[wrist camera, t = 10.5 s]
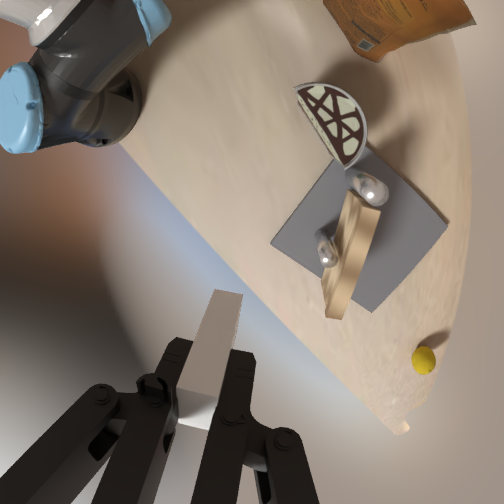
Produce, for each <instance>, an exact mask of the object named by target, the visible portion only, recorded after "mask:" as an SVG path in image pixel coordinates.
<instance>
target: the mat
mask: <svg viewBox="0 0 504 504" xmlns="http://www.w3.org/2000/svg"><path fill="white" fill-rule="evenodd" d="M350 167H357V168H359V169H361V170H363V171H364V172H366V173H368V174H370V175H371V176H373V177H375V178H376V179H378V180H380V181H381V182H383V183H384V184H385V185H386V186H387V187H388V190H389V197H388V199H387V201H386V202H385V203H384V204H383V205H381V206H374V207H375V208H378V209H379V210H380V211H381V213H380V216H379V219H378V222H377V226H376V229H375V232H374V235H373V238H372V241H371V244H370V247H369V250H368V253H367V256H366V259H365V261H364V264H363V267H362V270H361V272H360V275H359V278H358V280H357V283H356V286H355V288H354V291H353V293H352V296H351V299H352V300H354V301H355V302H357V303H358V304H360V305H361V306H362V307H364V308H365V309H367V310H368V311H370V312H371V313H372V312H373V311H374V310H375V309H376V308H377V307H378V306H379V305H380V304H381V303H382V302H383V301H384V300H385V299H386V298H387V297H388V296H389V295H390V294H391V293H392V292H393V291H394V290H395V288H396V287H397V286H398V285H399V284H400V283H401V282H402V281H403V280H404V279H405V278H406V277H407V275H408V274H409V273H410V272H411V271H412V270H413V269H414V268H415V266H416V265H417V264H418V263H419V262H420V261H421V259H422V258H423V257H424V256H425V255H426V254H427V252H428V251H429V250H430V249H431V248H432V246H433V245H434V244H435V243H436V241H437V240H438V239H439V238H440V236H441V235H442V234H443V233H444V231H445V230H446V229H447V227H448V226H447V225H446V224H445V222H444V221H443V220H442V219H441V218H440V217H439V216H438V215H437V213H436V212H435V211H434V210H433V209H432V208H431V207H430V206H429V205H428V204H427V203H426V202H425V201H424V200H423V199H422V198H421V197H420V196H419V195H418V194H417V193H416V192H415V191H414V190H413V189H412V188H411V187H410V186H409V185H408V184H407V183H406V182H405V181H404V180H403V179H402V178H401V177H400V176H399V175H398V174H397V173H396V172H395V171H394V170H393V169H391V168H390V167H389V166H388V165H387V164H386V163H385V162H384V161H383V160H381V159H380V158H379V157H378V156H377V155H376V154H375V153H373V152H372V151H371V150H370V149H369V148H367V147H366V146H365V148H364V150H363V152H362V154H361V156H360V157H359V158H358V159H357V161H356V162H355V163H354V164H353V165H351V166H350ZM350 167H349V168H350ZM347 169H348V168H347ZM347 169H346V170H347ZM346 170H344V167H343V166H342V165H341V164H340V163H339V162H337V161H336V160H335V159H333V160H332V161H331V163H330V164H329V165H328V167H327V168H326V169H325V171H324V172H323V173H322V175H321V176H320V177H319V179H318V180H317V181H316V183H315V184H314V185H313V187H312V188H311V189H310V191H309V192H308V193H307V195H306V196H305V197H304V199H303V200H302V201H301V203H300V204H299V205H298V207H297V208H296V209H295V210H294V212H293V213H292V214H291V216H290V217H289V218H288V220H287V221H286V222H285V224H284V225H283V226H282V228H281V229H280V230H279V232H278V233H277V234H276V236H275V237H274V238H273V239H272V241H271V242H270V245H272V246H273V247H275V248H276V249H278V250H279V251H281V252H283V253H284V254H286V255H287V256H289V257H290V258H292V259H293V260H295V261H296V262H298V263H299V264H300V265H302V266H303V267H305V268H306V269H308V270H309V271H311V272H312V273H314V274H315V275H317V276H318V277H320V278H321V279H322V276H323V273H324V269H325V267H324V266H323V265H322V264H321V261H320V257H319V253H318V249H317V245H316V241H315V232H316V231H317V230H319V229H325V230H327V231H328V233H329V235H330V238H331V241H332V243H333V240H334V236H335V233H336V230H337V226H338V222H339V219H340V215H341V212H342V208H343V204H344V200H345V197H346V193H347V189H349V190H353V191H356V190H354V189H353V188H352V187H351V186H350V185H349V184H348V183H347V182H346V180H345V172H346Z"/></svg>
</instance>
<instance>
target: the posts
mask: <svg viewBox="0 0 504 504" xmlns="http://www.w3.org/2000/svg"><path fill="white" fill-rule="evenodd" d="M345 180H346V182H347V183H348V184H349V185H350V186H351V187H352V188H353V189H354V190H356V191H357V192H358V193H359V194H360V195H361V196H362V197H363V198H364V199H365V200H366V201H367V202H368V203H369V204H371V205H373V206H381V205H383V204H384V203H385V202H386V201H387V199H388V197H389V190H388V187H387V186H386V185H385V184H384V183H383V182H381V181H380V180H378V179H376V178H375V177H373V176H371V175H370V174H368V173H366V172H364V171H363V170H361V169H359V168H357V167H350V168H348V169H347V170H346V172H345ZM315 241H316V245H317V249H318V253H319V257H320V261H321V264H322V265H323V266H324V267H326V268H332V267H334V266H335V265H336V264H337V262H338V257H337V254H336V251H335V248H334V246H333V243H332V241H331V238H330V235H329V233H328V231H327V230H325V229H319V230H317V231H316V232H315Z"/></svg>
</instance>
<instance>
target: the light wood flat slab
mask: <svg viewBox="0 0 504 504" xmlns="http://www.w3.org/2000/svg"><path fill="white" fill-rule="evenodd" d="M380 213H381V211H380V210H379V209H378V208H375V207H374V206H373V205H371V204H369V203H368V202H367V201H366V200H365V199H364V198H363V197H362V196H361V195H360V194H359V193H358V192H357V191H353V190H349V189H347V193H346V197H345V200H344V204H343V208H342V212H341V215H340V219H339V222H338V226H337V230H336V233H335V236H334V240H333V246H334V248H335V251H336V254H337V257H338V262H337V264H336V265H335V266H334V267H332V268H326V267H325V269H324V273H323V276H322V279H321V284H322V289H323V294H324V300H325V305H326V309H325V316H326V317H327V318H333V319H339V320H342V318H343V316H344V313H345V311H346V308H347V306H348V303H349V301H350V298H351V296H352V293H353V291H354V288H355V286H356V283H357V280H358V278H359V275H360V272H361V270H362V267H363V264H364V261H365V259H366V256H367V253H368V250H369V247H370V244H371V241H372V238H373V235H374V232H375V229H376V226H377V222H378V219H379V216H380Z"/></svg>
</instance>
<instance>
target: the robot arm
mask: <svg viewBox="0 0 504 504" xmlns="http://www.w3.org/2000/svg"><path fill="white" fill-rule="evenodd" d="M0 18H3V19H5V20H8V21H11V22H14V23H16V24H19V25H21V26H24V27H26V28H27V29H28V31H29V37H30V44H31V45H32V46H35V47H37V48H38V49H37V51H36V52H35V53H34V55H33V56H32V58H31V59H30V61H29V62H28V63H26V62H19V63H17V64H15V65H14V66H11V67H10V68H8V69H7V70H6V71H5V73H4V74H3V76H2V77H1V79H0V144H1V146H2V147H3V148H4V149H5V150H7V151H8V152H10V153H14V154H18V153H23V152H34V151H35V150H40V149H44V148H48V147H52V146H56V145H61V144H65V143H70V142H78V143H81V144H84V145H87V146H90V147H105V146H109V145H113V144H115V143H117V142H119V141H120V140H122V139H123V138H124V137H125V136H126V135H127V134H128V133H129V132H130V131H131V129H132V128H133V126H134V125H135V123H136V121H137V118H138V116H139V113H140V108H141V90H140V86H139V83H138V81H137V79H136V78H135V76H134V75H133V74H132V73H131V72H130V71H129V70H127V69H125V67H126V66H127V65H128V64H129V63H130V62H131V61H132V60H133V59H134V58H135V57H136V56H137V55H138V54H139V53H140V52H141V51H142V50H143V49H145V48H146V47H147V46H148V47H149V46H151V44H152V42H153V41H154V40H155V39H156V38H157V37H158V36H159V35H160V34H161V33H163V32H164V31H165V30H166V29H167V28H168V27H169V26H170V24H171V21H172V15H171V12H170V11H169V9H168V7H167V6H166V5H165V3H164V2H163V1H162V0H0ZM242 298H243V295H242V294H237V293H232V292H227V291H222V290H216V289H215V290H214V292H213V295H212V297H211V299H210V302H209V304H208V307H207V310H206V312H205V314H204V317H203V319H202V322H201V324H200V327H199V329H198V332H197V334H196V337H195V340H194V341H190V340H186V339H182V338H178V337H176V338H175V339H174V340H172V341H171V342H170V343H169V344H168V346H167V348H166V350H165V353H164V354H163V356H162V359H161V360H160V362H159V364H158V366H157V368H156V371H155V373H150V374H145V375H143V376H141V377H140V378H139V379H138V380H137V381H136V384H137V388H138V392H136V393H120V392H116V390H115V389H114V388H113V387H112V386H109V385H107V384H96V385H94V386H92V387H91V388H89V389H88V390H87V391H86V392H85V393H84V394H83V395H82V396H81V397H80V398H79V399H78V400H77V401H76V402H75V403H74V404H73V405H72V406H71V407H70V408H69V409H68V410H67V411H66V412H65V413H64V414H63V415H62V416H61V417H60V418H59V419H58V420H57V421H56V422H55V423H54V424H53V425H52V426H51V427H50V428H49V429H48V430H47V431H46V432H45V433H44V434H43V435H42V436H41V437H40V438H39V439H38V440H37V441H36V442H35V443H34V444H33V445H32V446H31V447H30V448H29V449H28V450H27V451H26V452H25V453H24V454H23V455H22V456H21V457H20V458H19V459H18V460H17V461H16V462H15V463H14V464H13V466H11V467H10V468H9V469H8V470H7V472H6V473H5V474H4V475H3V476H2V477H1V478H0V504H71V503H72V501H73V500H74V499H75V498H76V497H77V495H78V494H79V493H80V492H81V491H82V490H83V488H84V487H85V486H86V485H87V484H88V483H89V481H90V480H91V479H92V478H93V477H94V475H95V474H96V473H97V472H98V470H99V469H100V468H101V467H102V466H103V465H104V463H105V462H106V461H107V460H108V458H109V457H110V456H111V457H110V459H109V462H108V464H107V467H106V469H105V471H104V473H103V476H102V478H101V481H100V483H99V486H98V488H97V490H96V493H95V495H94V498H93V500H92V503H91V504H153V503H154V500H155V496H156V493H157V490H158V487H159V483H160V480H161V477H162V474H163V471H164V468H165V465H166V461H167V458H168V455H169V452H170V449H171V446H172V443H173V439H174V436H175V430H176V429H175V426H176V424H177V420H178V422H179V423H181V424H185V425H189V426H193V427H197V428H201V429H205V430H209V432H208V436H207V440H206V444H205V448H204V452H203V456H202V460H201V464H200V468H199V472H198V476H197V480H196V484H195V489H194V492H193V496H192V500H191V504H236V502H237V496H238V490H239V484H240V478H241V471H242V465H243V464H244V465H246V466H248V467H250V468H253V469H254V475H255V480H256V487H257V492H258V498H259V504H319V500H318V497H317V494H316V490H315V486H314V483H313V479H312V475H311V472H310V468H309V465H308V461H307V457H306V454H305V450H304V447H303V443H302V440H301V438H300V436H299V434H298V433H296V432H295V431H294V430H292V429H289V428H285V427H279V428H275V429H271V428H269V427H267V426H264V425H262V424H260V423H259V422H257V421H256V420H255V419H254V417H253V416H252V414H251V411H250V403H251V396H252V389H253V382H254V375H255V367H256V360H255V358H254V355H253V353H250V352H245V351H240V350H234V349H233V346H234V341H235V337H236V333H237V327H238V321H239V315H240V309H241V302H242Z"/></svg>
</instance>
